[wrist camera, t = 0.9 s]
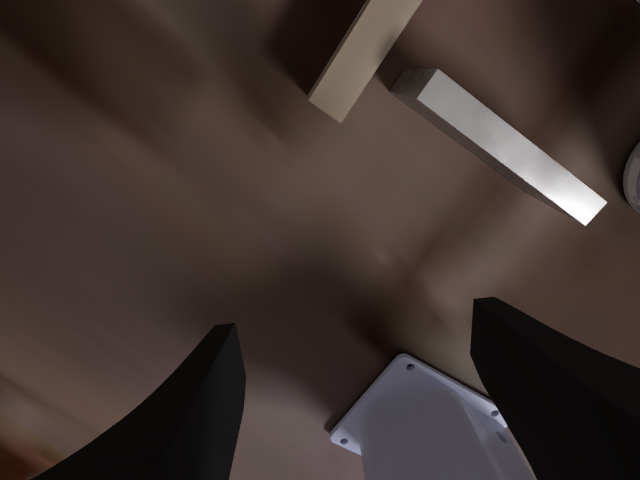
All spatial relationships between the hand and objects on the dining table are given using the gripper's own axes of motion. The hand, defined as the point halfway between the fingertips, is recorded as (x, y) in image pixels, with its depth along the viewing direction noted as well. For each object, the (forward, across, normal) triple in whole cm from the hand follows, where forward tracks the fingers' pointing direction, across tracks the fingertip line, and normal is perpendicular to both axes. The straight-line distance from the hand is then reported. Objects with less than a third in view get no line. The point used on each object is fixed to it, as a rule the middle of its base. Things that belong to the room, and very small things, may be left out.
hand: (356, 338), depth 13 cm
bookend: (+10, -7, -4) cm, 13 cm away
